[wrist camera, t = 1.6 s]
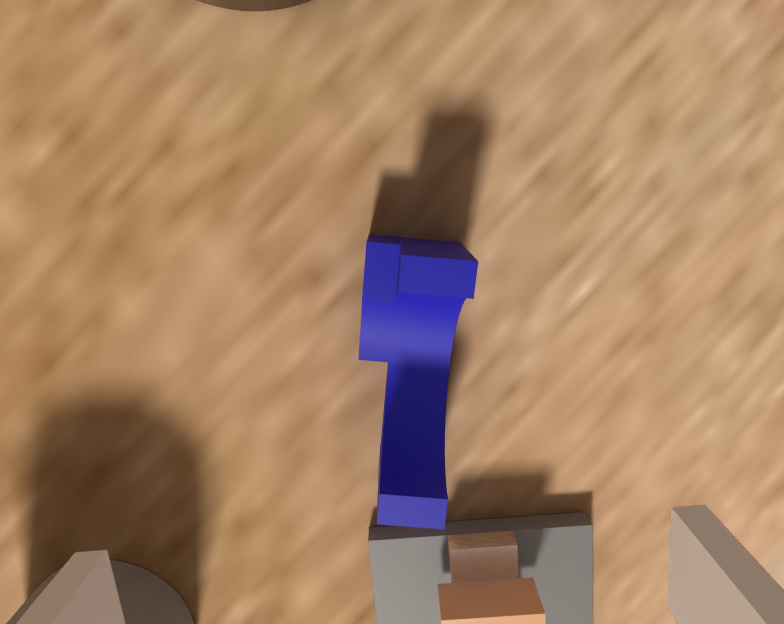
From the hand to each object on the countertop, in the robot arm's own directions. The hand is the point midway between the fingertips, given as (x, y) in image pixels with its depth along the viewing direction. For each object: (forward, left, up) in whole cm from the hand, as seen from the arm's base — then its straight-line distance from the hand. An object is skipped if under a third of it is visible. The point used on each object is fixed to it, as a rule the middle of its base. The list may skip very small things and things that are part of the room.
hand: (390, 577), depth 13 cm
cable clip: (0, +1, -17) cm, 17 cm away
